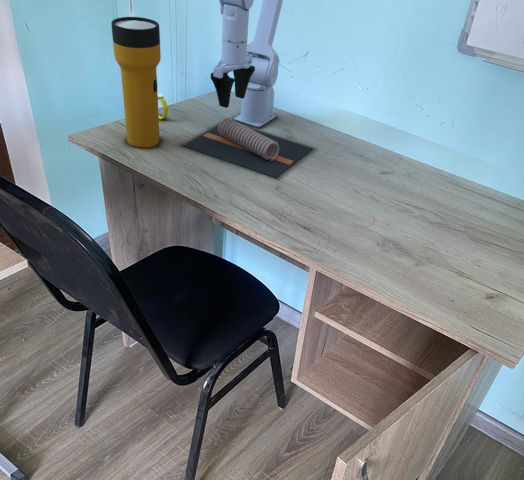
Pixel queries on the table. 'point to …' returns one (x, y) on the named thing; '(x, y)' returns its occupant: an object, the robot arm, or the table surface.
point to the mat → (249, 152)
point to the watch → (161, 98)
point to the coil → (249, 139)
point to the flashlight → (138, 76)
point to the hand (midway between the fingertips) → (231, 101)
